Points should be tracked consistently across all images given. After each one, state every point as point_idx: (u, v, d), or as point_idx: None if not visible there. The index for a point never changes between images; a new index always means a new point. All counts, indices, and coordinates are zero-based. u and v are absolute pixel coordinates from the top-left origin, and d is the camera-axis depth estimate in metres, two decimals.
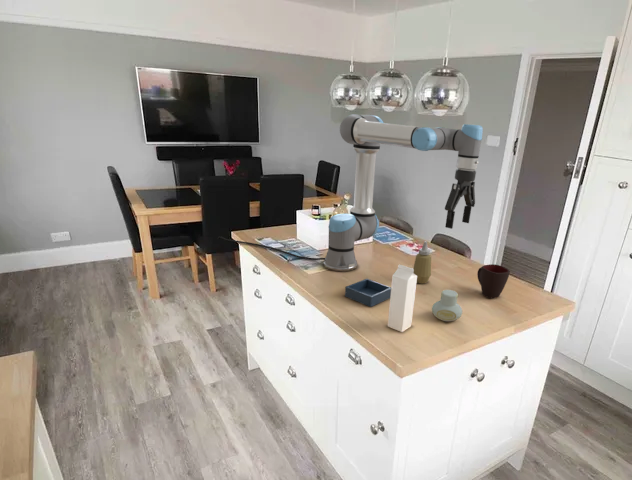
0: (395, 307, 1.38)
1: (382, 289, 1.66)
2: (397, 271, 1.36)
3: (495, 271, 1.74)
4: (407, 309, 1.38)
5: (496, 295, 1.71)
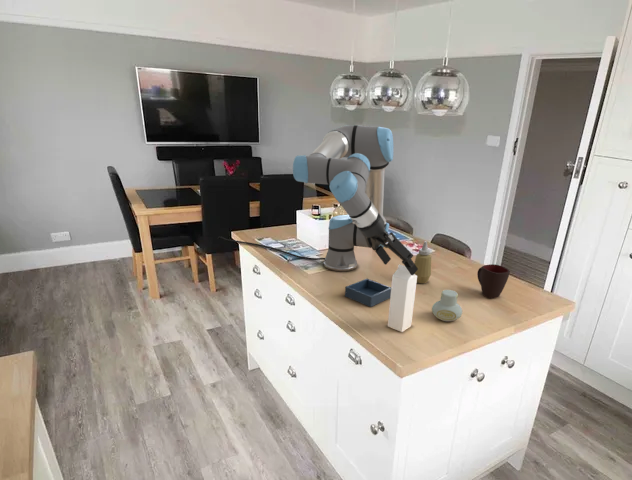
0: (395, 307, 1.38)
1: (382, 289, 1.66)
2: (397, 271, 1.36)
3: (495, 271, 1.74)
4: (407, 309, 1.38)
5: (496, 295, 1.71)
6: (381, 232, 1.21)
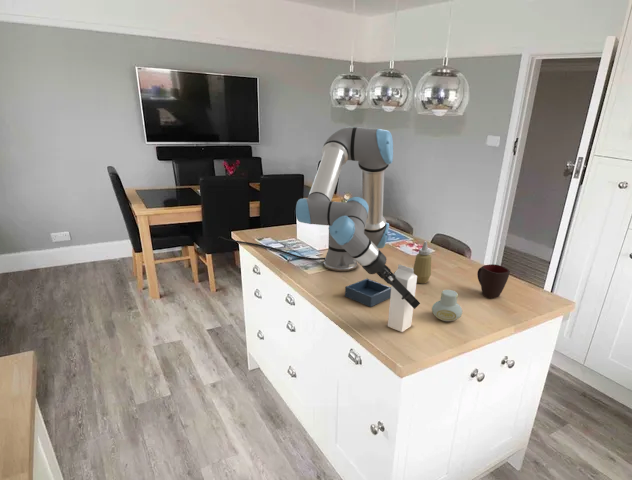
0: (395, 307, 1.38)
1: (382, 289, 1.66)
2: (397, 271, 1.36)
3: (495, 271, 1.74)
4: (407, 309, 1.38)
5: (496, 295, 1.71)
6: (381, 270, 1.27)
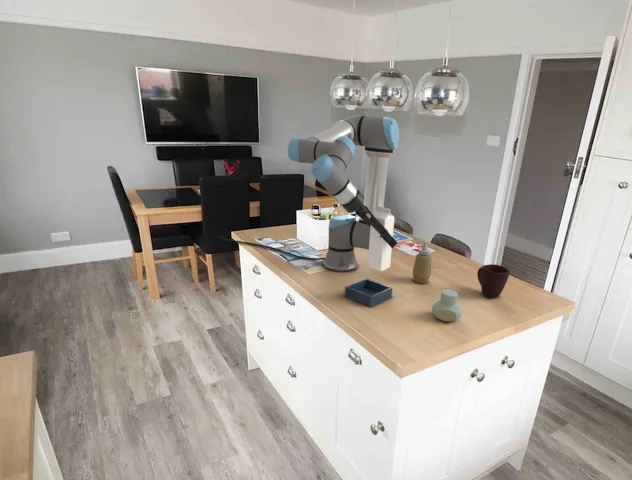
0: (374, 247, 1.47)
1: (382, 289, 1.66)
2: (375, 212, 1.45)
3: (495, 271, 1.74)
4: (385, 249, 1.47)
5: (496, 295, 1.71)
6: (359, 208, 1.36)
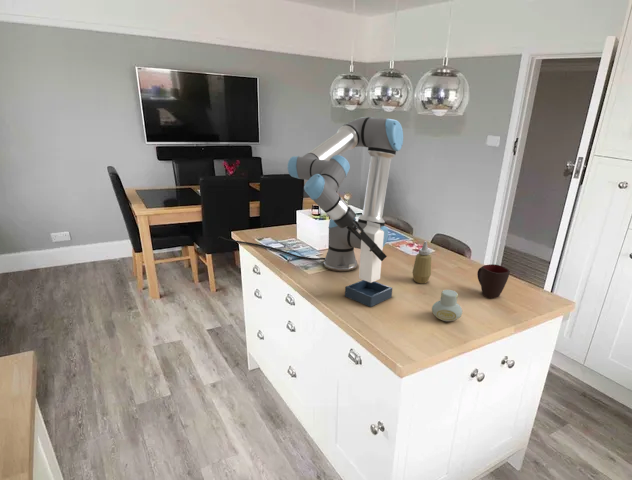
0: (364, 259, 1.56)
1: (382, 289, 1.66)
2: (366, 227, 1.53)
3: (495, 271, 1.74)
4: (375, 262, 1.55)
5: (496, 295, 1.71)
6: (350, 224, 1.45)
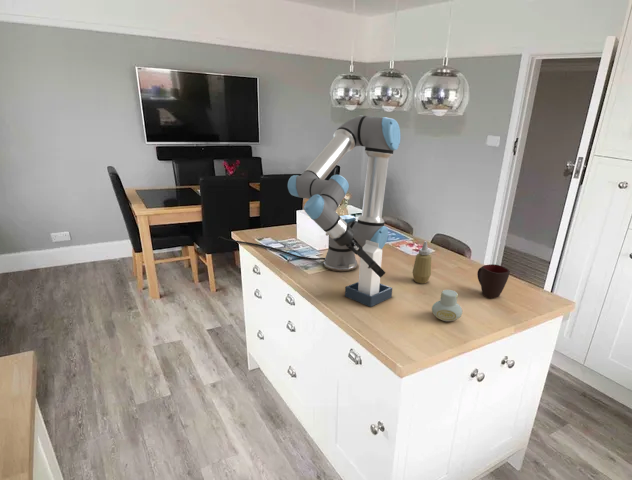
0: (363, 277, 1.58)
1: (382, 289, 1.66)
2: (365, 246, 1.56)
3: (495, 271, 1.74)
4: (374, 279, 1.58)
5: (496, 295, 1.71)
6: (349, 242, 1.47)
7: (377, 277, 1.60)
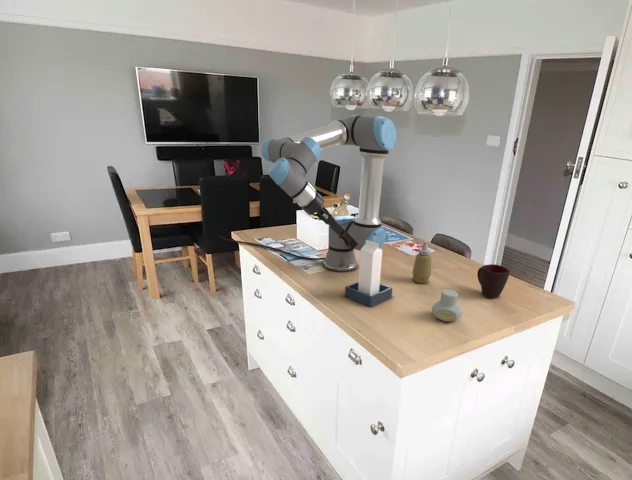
0: (363, 277, 1.58)
1: (382, 289, 1.66)
2: (365, 246, 1.56)
3: (495, 271, 1.74)
4: (374, 279, 1.58)
5: (496, 295, 1.71)
6: (318, 210, 1.39)
7: (377, 277, 1.60)
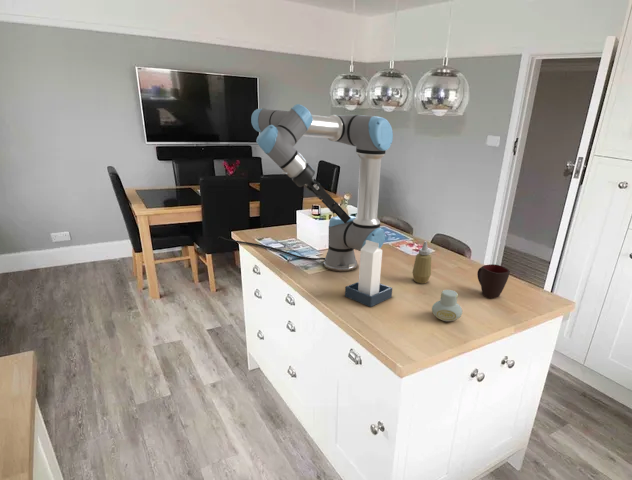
0: (363, 277, 1.58)
1: (382, 289, 1.66)
2: (365, 246, 1.56)
3: (495, 271, 1.74)
4: (374, 279, 1.58)
5: (496, 295, 1.71)
6: (309, 181, 1.33)
7: (377, 277, 1.60)
